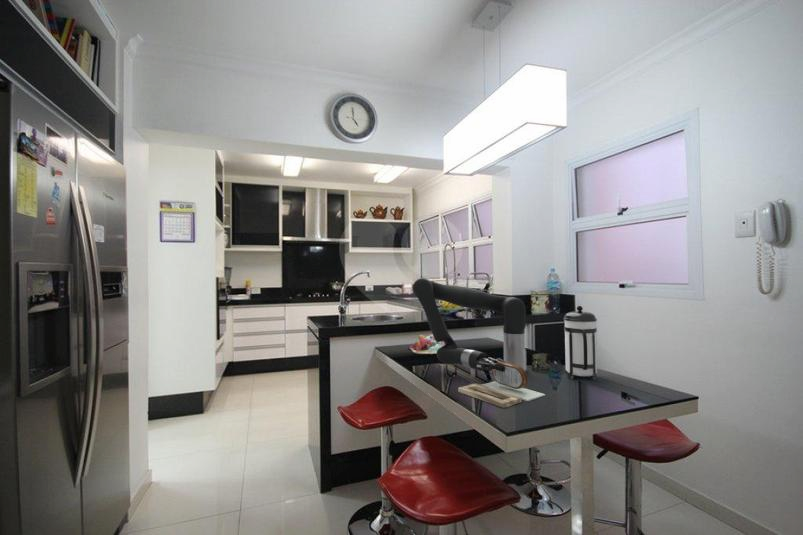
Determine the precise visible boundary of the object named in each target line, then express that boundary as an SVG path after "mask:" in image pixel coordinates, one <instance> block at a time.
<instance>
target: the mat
mask: <svg viewBox="0 0 803 535" xmlns="http://www.w3.org/2000/svg"><path fill="white" fill-rule="evenodd" d="M481 385H483V386H486V387H489V388H493V389H496V390H499V391H502V392H505V393H508V394H511V395H515V396H518V397H521V398H522V400H523V401H525V402H530V401H534V400H536V399H539V398H542V397H545V396H546V394H545V393H542V392H538V391H535V390H532V389H528V388H525V387H524V388H520V389H514V388H511V387H508V386H505V385H502V384H499V383H497V382H496V381H495V380H493V381H491V382H487V383H482V384H481Z"/></svg>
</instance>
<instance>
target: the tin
mask: <svg viewBox="0 0 803 535" xmlns="http://www.w3.org/2000/svg"><path fill="white" fill-rule="evenodd" d="M496 364H499V365H503V366H505V372H501V371H498V370H492V373H491V374H492V377H493V380H494V381H496V382H497V383H499V384H502V385H505V386H508V387H511V388H514V389H520V388H525V387H526V386H527V385H528V381H529V380H528V374H527V372H526V371H525V370H524V369H523V368H522V367H520V366H517V365H514V364H510V363H506V362H499V363H496Z"/></svg>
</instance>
